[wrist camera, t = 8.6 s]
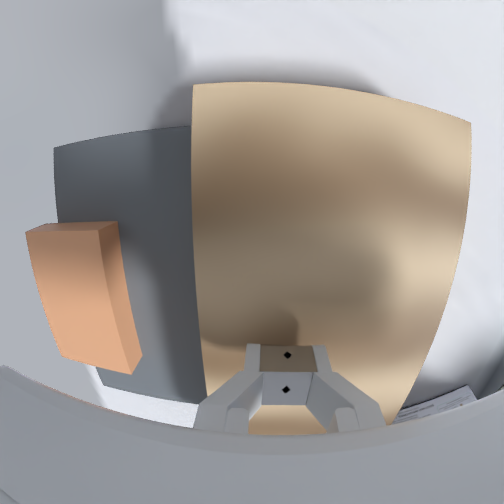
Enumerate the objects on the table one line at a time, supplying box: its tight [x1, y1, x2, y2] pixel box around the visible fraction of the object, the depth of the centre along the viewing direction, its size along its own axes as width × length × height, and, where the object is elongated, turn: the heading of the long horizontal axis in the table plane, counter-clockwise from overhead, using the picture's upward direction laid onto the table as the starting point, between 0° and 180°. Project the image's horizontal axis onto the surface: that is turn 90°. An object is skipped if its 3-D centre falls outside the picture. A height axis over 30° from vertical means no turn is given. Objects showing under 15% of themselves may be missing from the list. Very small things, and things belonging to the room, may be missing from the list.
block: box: [26, 221, 143, 375], centre depth 14 cm, size 9×6×2 cm, turn 179°
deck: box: [191, 82, 471, 435], centre depth 13 cm, size 20×11×4 cm, turn 179°
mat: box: [54, 126, 208, 404], centre depth 15 cm, size 18×10×1 cm, turn 179°
